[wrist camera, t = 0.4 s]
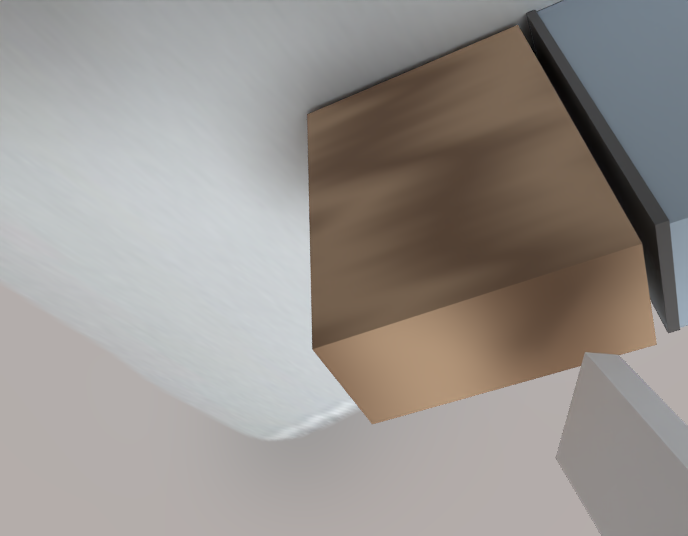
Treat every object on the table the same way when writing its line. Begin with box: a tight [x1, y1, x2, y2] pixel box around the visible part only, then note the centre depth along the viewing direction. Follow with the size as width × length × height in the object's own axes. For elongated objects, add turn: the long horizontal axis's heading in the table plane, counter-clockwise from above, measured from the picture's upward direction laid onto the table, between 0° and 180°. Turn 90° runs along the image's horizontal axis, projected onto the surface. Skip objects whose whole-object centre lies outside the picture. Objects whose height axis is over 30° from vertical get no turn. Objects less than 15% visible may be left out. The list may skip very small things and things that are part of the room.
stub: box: [307, 25, 657, 424], centre depth 20 cm, size 8×4×11 cm, turn 114°
